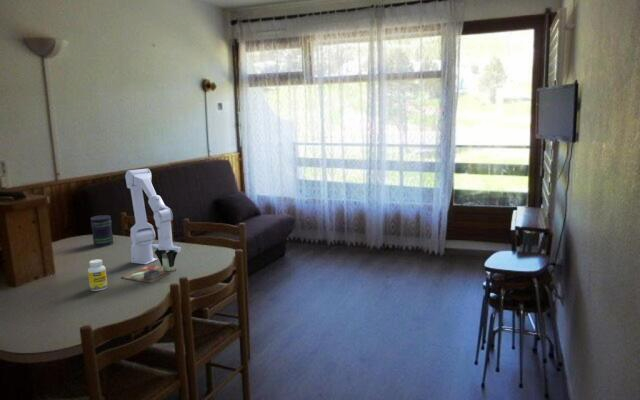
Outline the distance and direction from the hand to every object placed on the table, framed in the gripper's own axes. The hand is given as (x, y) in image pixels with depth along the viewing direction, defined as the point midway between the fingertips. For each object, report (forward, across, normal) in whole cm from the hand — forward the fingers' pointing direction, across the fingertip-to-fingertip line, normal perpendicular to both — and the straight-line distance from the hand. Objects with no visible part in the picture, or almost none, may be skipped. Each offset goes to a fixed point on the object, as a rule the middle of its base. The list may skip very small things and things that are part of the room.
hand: (167, 265), depth 206 cm
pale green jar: (+2, 0, 0) cm, 2 cm away
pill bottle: (+3, -14, -25) cm, 29 cm away
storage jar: (+3, -62, +23) cm, 66 cm away
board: (+3, -6, -5) cm, 8 cm away
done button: (0, -1, -9) cm, 9 cm away
